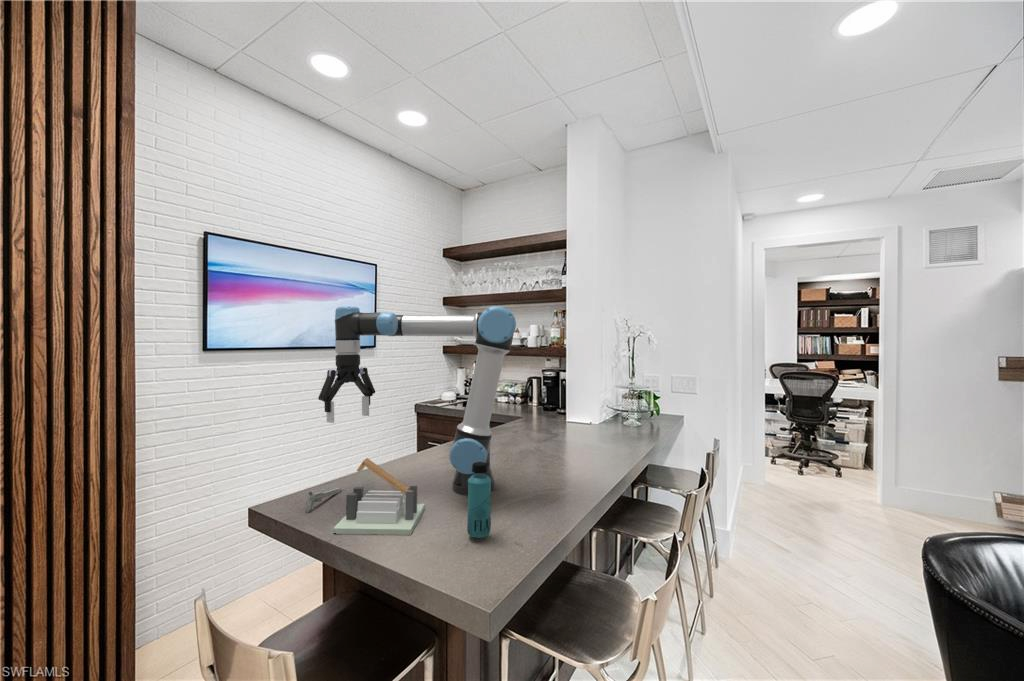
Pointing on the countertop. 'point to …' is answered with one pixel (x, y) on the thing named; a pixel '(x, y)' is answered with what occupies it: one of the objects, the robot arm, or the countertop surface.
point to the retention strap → (384, 475)
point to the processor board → (380, 527)
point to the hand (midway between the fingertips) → (348, 418)
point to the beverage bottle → (479, 502)
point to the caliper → (318, 498)
